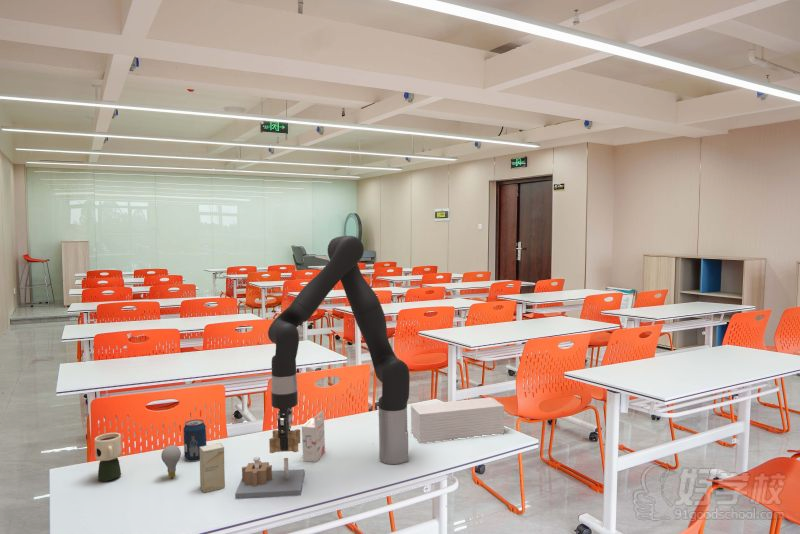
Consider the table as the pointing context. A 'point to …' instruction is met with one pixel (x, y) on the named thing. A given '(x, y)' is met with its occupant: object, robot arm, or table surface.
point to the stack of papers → (456, 419)
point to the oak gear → (292, 441)
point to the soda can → (194, 439)
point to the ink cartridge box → (313, 438)
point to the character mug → (108, 455)
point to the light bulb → (171, 459)
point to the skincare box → (212, 467)
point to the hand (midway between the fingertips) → (285, 445)
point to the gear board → (269, 481)
